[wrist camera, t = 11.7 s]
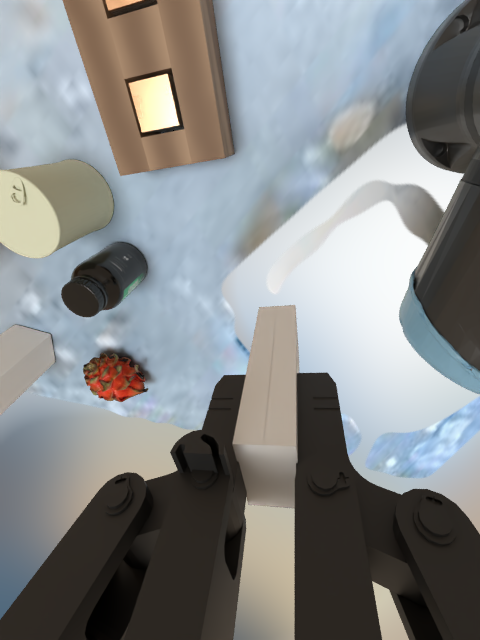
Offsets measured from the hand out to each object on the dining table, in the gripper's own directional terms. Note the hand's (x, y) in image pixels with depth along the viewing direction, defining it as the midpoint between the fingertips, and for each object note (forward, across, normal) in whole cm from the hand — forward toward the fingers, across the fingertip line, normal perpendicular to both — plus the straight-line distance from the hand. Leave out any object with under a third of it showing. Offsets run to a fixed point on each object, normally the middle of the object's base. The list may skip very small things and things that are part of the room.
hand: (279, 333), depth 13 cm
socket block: (+29, +12, -16) cm, 36 cm away
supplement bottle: (+30, +25, +6) cm, 39 cm away
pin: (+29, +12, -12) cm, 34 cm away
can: (+30, +28, -4) cm, 41 cm away
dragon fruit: (+30, +33, +26) cm, 51 cm away
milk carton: (+30, +50, +20) cm, 61 cm away
